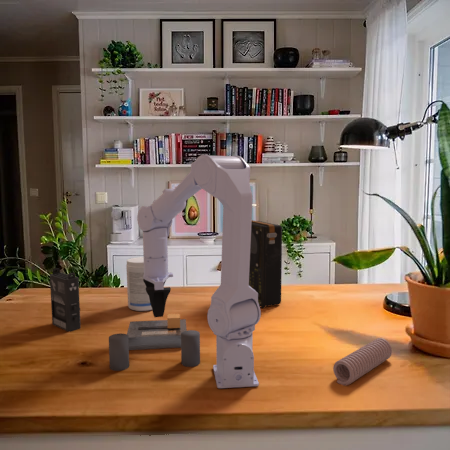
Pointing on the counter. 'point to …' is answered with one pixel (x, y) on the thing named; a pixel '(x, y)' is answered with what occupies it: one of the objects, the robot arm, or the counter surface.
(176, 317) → the block
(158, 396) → the counter surface
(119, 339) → the post left
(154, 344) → the panel
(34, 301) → the counter surface
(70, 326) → the geiger counter
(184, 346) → the post right
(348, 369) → the coil
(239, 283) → the robot arm
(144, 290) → the supplement tub
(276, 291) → the black upright block
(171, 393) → the counter surface
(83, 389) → the counter surface
